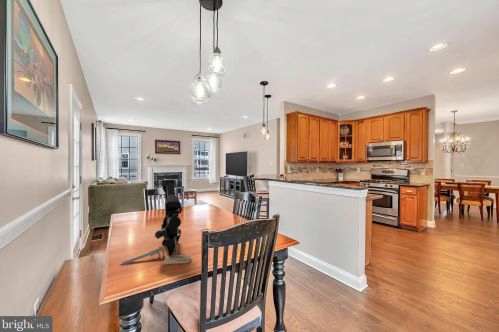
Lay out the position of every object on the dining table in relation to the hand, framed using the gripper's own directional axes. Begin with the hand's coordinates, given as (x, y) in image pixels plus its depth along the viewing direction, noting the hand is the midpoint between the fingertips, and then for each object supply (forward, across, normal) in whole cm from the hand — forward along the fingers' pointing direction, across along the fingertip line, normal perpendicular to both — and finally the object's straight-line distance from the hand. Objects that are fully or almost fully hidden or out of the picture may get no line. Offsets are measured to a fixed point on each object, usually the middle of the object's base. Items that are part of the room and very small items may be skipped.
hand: (172, 252), depth 111 cm
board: (+2, +6, +4) cm, 8 cm away
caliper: (+2, +2, -14) cm, 14 cm away
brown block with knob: (+2, -1, 0) cm, 2 cm away
